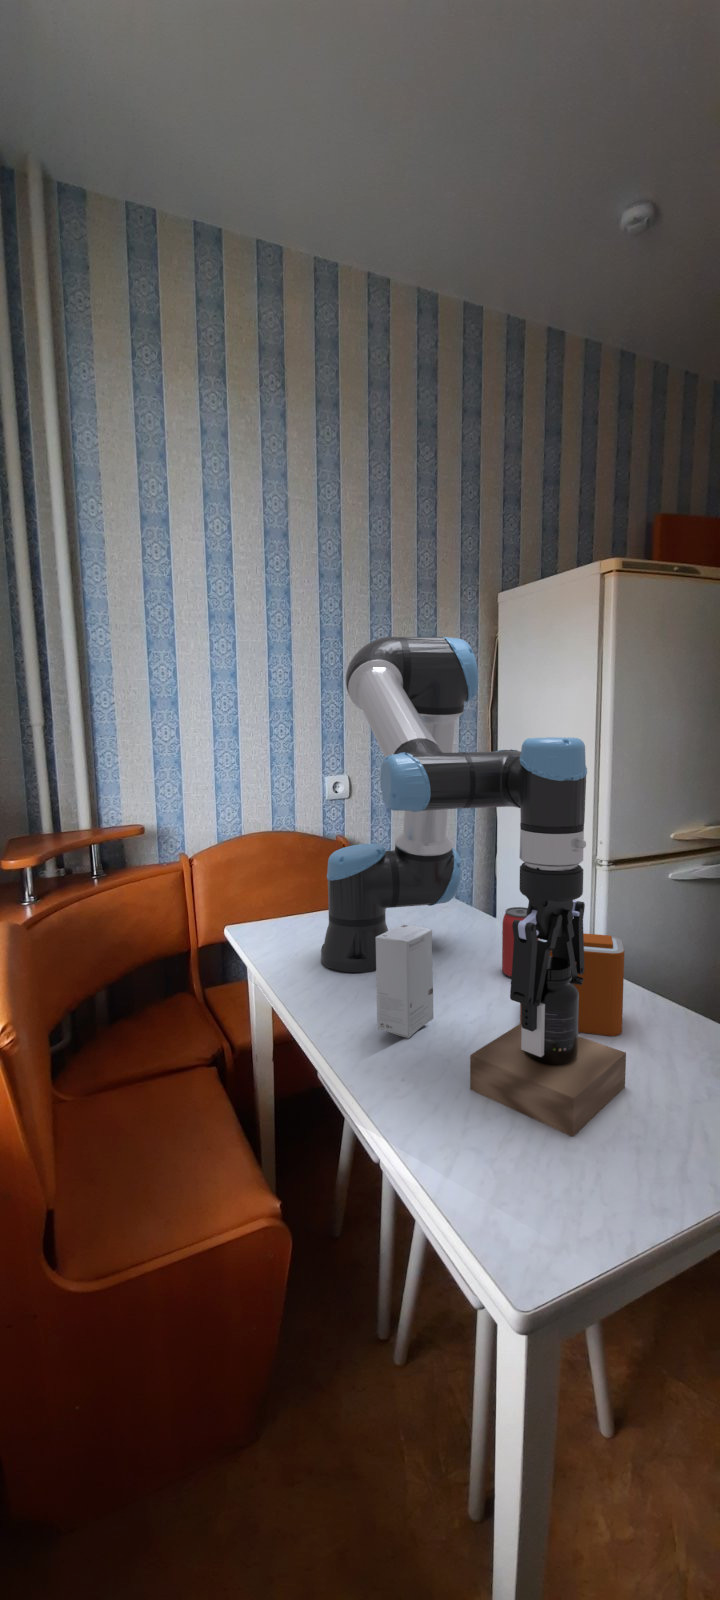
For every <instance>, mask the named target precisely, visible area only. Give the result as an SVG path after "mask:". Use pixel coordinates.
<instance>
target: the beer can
mask: <svg viewBox="0 0 720 1600" xmlns="http://www.w3.org/2000/svg"><path fill="white" fill-rule="evenodd" d="M527 909H528V907H524V906H523V907H522V906H514V907H513V906H512V907H509V908H507V909H505V913H504V915H503V918H502V929H501V931H502V933H501V935H502V937H501V939H502V942H501V946H502V947H501V949H502V951H501V953H502V954H501V955H502V956H501V957H502V960H501V964H502V966H501V971H502V972H503V974H504V975H505V976H507V977H509V978H511V976H512V962H513V948H514V935H513V928H512V924H513V921H514V920H515V919H516V920H520V921H522V920H524V919H525V918H526V913H527ZM537 940H539V938H537Z"/></svg>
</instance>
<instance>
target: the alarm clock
mask: <svg viewBox="0 0 720 1600" xmlns="http://www.w3.org/2000/svg"><path fill="white" fill-rule="evenodd" d="M583 936H584V973H583V974H582V975H580V974H578V976H579V977H582V978H583V983H582V985H578V984H574V985H575V986H576V988H577V989H578V992H579V1026H578V1033H583V1034H591V1035H592V1034H593V1035H599V1036H606V1037H607V1036H610V1037H612V1036H613V1037H615V1036H618V1035H621V1034H622V1031H623V1015H624V1014H623V1011H624V1010H623V1008H624V980H625V979H624V976H625V948H624V944H623V941H622V939H620V938H619V937H615V936H612V935H606V934H596V933H595V934H594V933H584V932H583ZM539 941H543V942H547V940H543V939H539ZM550 956H552V950H551V951H550ZM552 957H553V956H552ZM575 963H576V964H577V962H575ZM519 1004H520V1005H519V1024H520V1023H521V1018H522V1004H521V1003H519Z"/></svg>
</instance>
